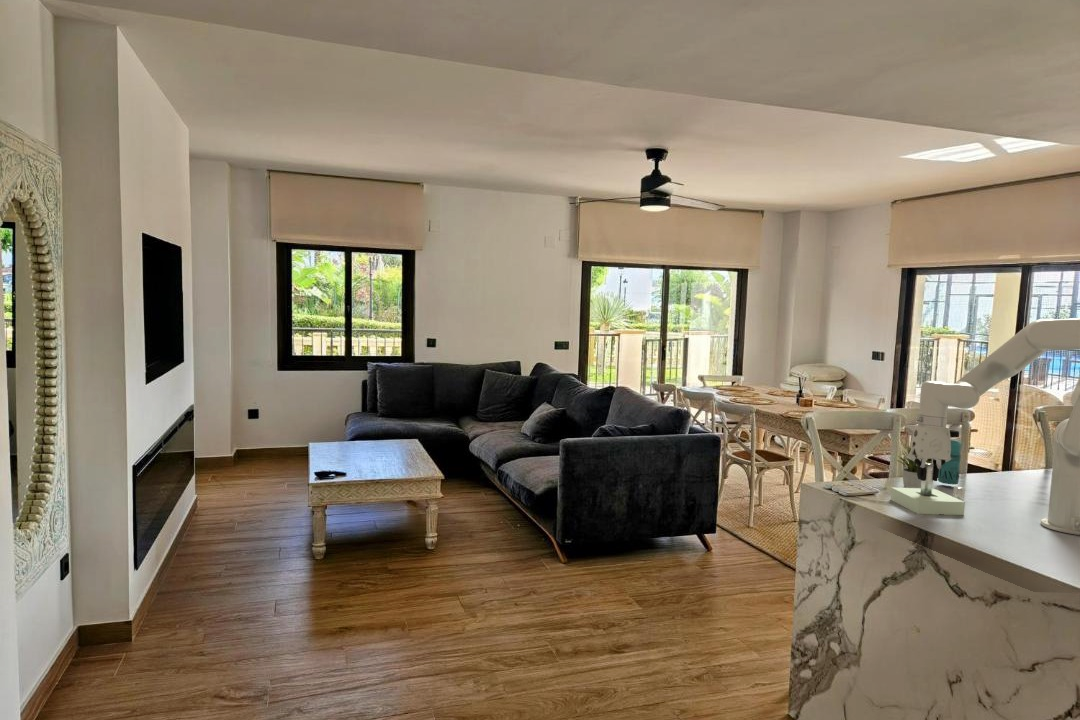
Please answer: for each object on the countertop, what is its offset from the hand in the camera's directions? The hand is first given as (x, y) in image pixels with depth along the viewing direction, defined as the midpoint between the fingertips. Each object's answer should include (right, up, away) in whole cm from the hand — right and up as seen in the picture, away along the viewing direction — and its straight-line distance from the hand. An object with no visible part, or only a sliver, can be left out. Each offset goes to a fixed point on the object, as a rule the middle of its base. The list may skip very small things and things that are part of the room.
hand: (927, 479), depth 205 cm
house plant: (+10, -8, +23) cm, 26 cm away
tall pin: (0, -5, 0) cm, 5 cm away
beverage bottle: (+24, -8, +28) cm, 37 cm away
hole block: (0, -9, +1) cm, 9 cm away
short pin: (+14, -9, +7) cm, 18 cm away
